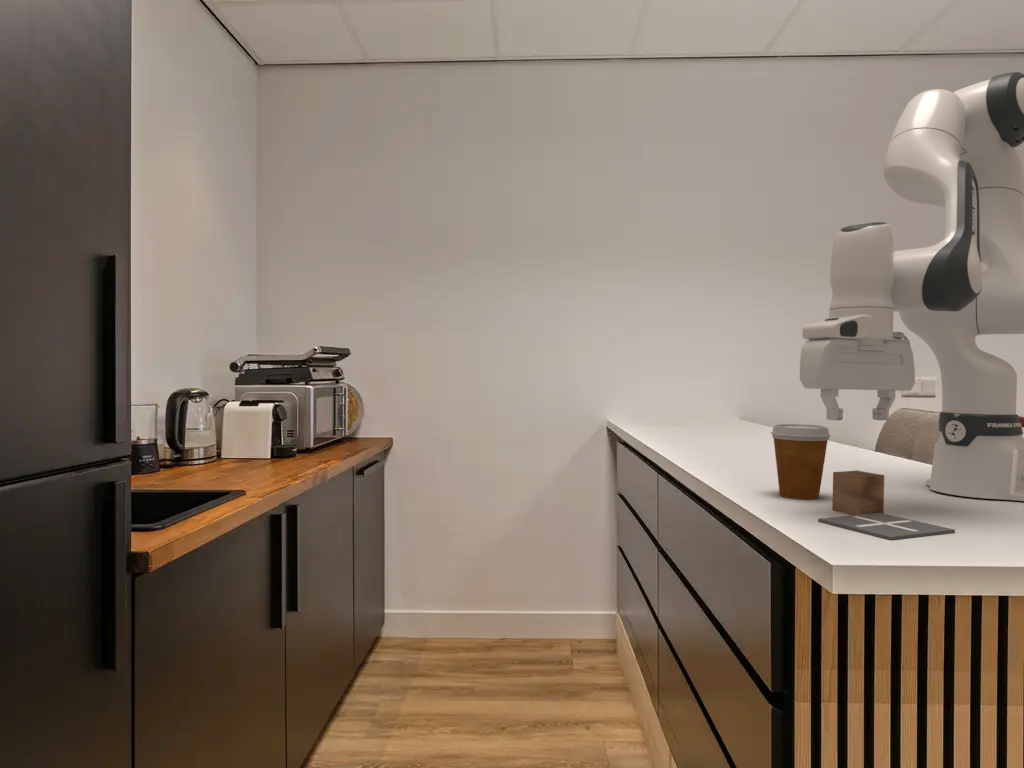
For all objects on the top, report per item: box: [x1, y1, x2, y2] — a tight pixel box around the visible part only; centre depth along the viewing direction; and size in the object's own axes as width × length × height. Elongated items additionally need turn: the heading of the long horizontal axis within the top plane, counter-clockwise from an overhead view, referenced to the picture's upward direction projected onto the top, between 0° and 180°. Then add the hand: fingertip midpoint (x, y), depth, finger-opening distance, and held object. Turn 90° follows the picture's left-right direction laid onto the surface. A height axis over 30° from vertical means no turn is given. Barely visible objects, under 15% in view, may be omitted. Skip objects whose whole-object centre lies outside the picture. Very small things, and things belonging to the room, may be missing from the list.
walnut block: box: [831, 470, 885, 516], centre depth 112 cm, size 5×5×6 cm
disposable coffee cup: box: [770, 423, 831, 500], centre depth 125 cm, size 10×10×12 cm
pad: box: [817, 513, 956, 541], centre depth 101 cm, size 12×12×1 cm
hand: (857, 420), depth 111 cm, fingers open, 8 cm apart
